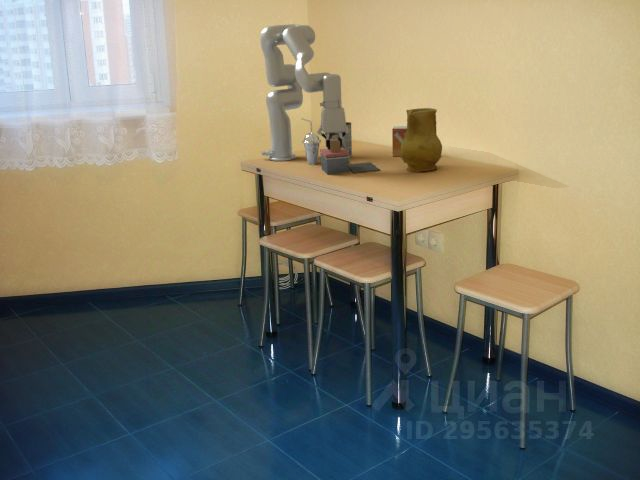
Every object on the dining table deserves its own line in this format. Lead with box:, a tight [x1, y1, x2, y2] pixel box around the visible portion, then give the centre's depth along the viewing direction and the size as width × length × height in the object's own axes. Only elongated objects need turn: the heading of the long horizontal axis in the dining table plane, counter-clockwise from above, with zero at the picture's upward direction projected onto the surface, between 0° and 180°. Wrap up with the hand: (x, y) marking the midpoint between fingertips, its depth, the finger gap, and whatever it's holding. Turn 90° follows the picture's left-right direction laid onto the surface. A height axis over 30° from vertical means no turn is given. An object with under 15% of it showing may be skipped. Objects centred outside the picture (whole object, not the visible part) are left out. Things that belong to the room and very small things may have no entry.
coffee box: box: [329, 121, 353, 158], centre depth 337 cm, size 9×6×16 cm
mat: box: [349, 162, 381, 174], centre depth 314 cm, size 12×16×1 cm
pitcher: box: [400, 107, 443, 173], centre depth 304 cm, size 17×19×25 cm
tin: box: [319, 152, 351, 176], centre depth 311 cm, size 10×12×7 cm
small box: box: [391, 125, 407, 157], centre depth 335 cm, size 8×6×13 cm
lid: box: [319, 139, 349, 157], centre depth 309 cm, size 10×12×6 cm
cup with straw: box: [301, 118, 322, 166], centre depth 326 cm, size 8×9×20 cm
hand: (334, 147), depth 310 cm, fingers closed on lid, 4 cm apart
